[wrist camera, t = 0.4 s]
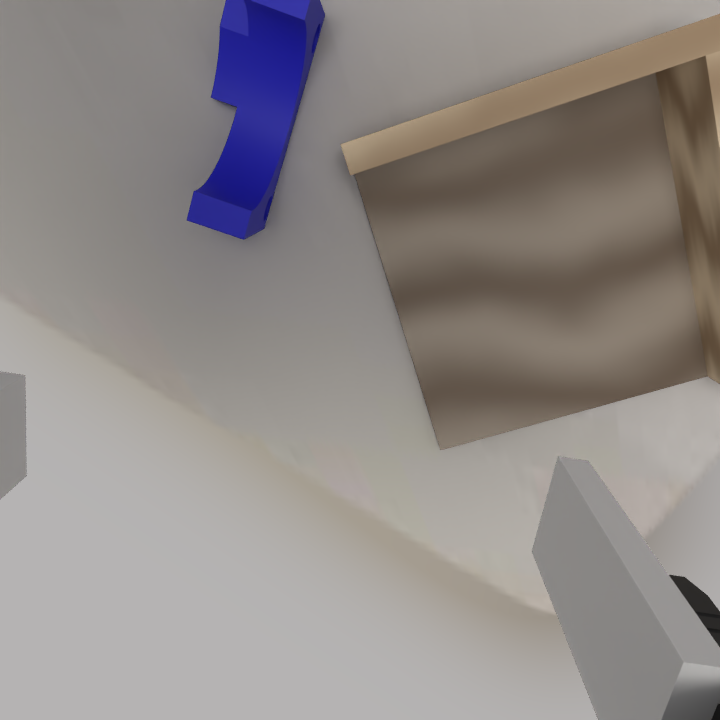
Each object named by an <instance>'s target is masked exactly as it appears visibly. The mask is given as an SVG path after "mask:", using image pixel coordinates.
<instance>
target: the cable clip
mask: <svg viewBox="0 0 720 720" xmlns="http://www.w3.org/2000/svg"><path fill="white" fill-rule="evenodd" d="M324 17H325V13H324V10H323V7H322V5H321V2H320V0H226V3H225V7H224V11H223V15H222V19H221V23H220V40H219V54H218V62H217V69H216V75H215V81H214V86H213V90H212V95H211V98H213V99H216V100H219V101H221V102H224V103H227V104H230V105H233V106H236V107H237V110H236V114H235V117H234V121H233V124H232V127H231V130H230V133H229V136H228V139H227V142H226V145H225V147H224V150H223V152H222V154H221V157H220V159H219V161H218V163H217V165H216V167H215V169H214V171H213V172H212V174H211V176H210V177H209V179H208V180H207V181H206V183H205V184H204V185H203V186H202V187H201V188H199V189H198V190H196V191H194V193H193V197H192V201H191V205H190V209H189V213H188V217H187V221H190V222H193V223H196V224H199V225H202V226H205V227H208V228H211V229H214V230H217V231H220V232H223V233H226V234H229V235H231V236H234V237H237V238H240V239H243V240H244V239H246V238H248V237H250V236H251V235H253V234H255V233H257V232H259V231H261V230H263V229H264V227H265V224H266V220H267V217H268V213H269V210H270V206H271V203H272V199H273V196H274V192H275V189H276V185H277V182H278V178H279V175H280V171H281V168H282V164H283V161H284V157H285V154H286V150H287V147H288V143H289V140H290V136H291V133H292V129H293V126H294V122H295V119H296V115H297V112H298V108H299V105H300V101H301V98H302V94H303V91H304V87H305V84H306V80H307V77H308V73H309V70H310V66H311V63H312V59H313V56H314V52H315V49H316V45H317V42H318V38H319V35H320V31H321V28H322V24H323V21H324Z"/></svg>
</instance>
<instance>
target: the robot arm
mask: <svg viewBox="0 0 720 720" xmlns="http://www.w3.org/2000/svg"><path fill="white" fill-rule="evenodd" d="M25 397H26V395H25V375H21V374H13V373H7V372H0V499H1V498H2V497H3V496H5V495H6V494H7V493H8V492H9V491H10V490H11V489H12V488H14V487H15V486H16V485H17V484H18V483H19V482H20V481H21V480H23V479H24V478H25V477H26V476H27V475H26V399H25ZM532 553H533V556H534V558H535V561H536V563H537V566H538V568H539V571H540V573H541V576H542V579H543V581H544V584H545V586H546V589H547V591H548V594H549V596H550V599H551V601H552V604H553V606H554V609H555V612H556V614H557V617H558V619H559V622H560V624H561V627H562V629H563V632H564V634H565V637H566V639H567V642H568V644H569V647H570V649H571V652H572V655H573V657H574V659H575V662H576V665H577V667H578V670H579V672H580V675H581V677H582V680H583V683H584V685H585V688H586V690H587V693H588V695H589V698H590V700H591V703H592V705H593V708H594V711H595V713H596V715H597V718H598V720H720V611H719V610H718V608H717V607H716V606H715V605H714V603H713V602H712V601H711V599H710V598H709V597H708V595H706V594H705V593H704V592H702V591H701V590H700V589H699V588H698V587H696V586H695V585H694V584H693V583H691V582H690V581H689V580H688V579H686V578H685V577H680V576H673V575H668V573H667V572H666V570H665V569H664V568H663V566H662V565H661V563H660V562H659V560H658V559H657V558H656V556H655V555H654V553H653V552H652V551H651V549H650V548H649V546H648V545H647V543H646V542H645V540H644V539H643V538H642V536H641V535H640V533H639V532H638V530H637V529H636V528H635V526H634V525H633V523H632V522H631V521H630V519H629V518H628V516H627V515H626V513H625V512H624V511H623V509H622V508H621V506H620V505H619V503H618V502H617V501H616V499H615V498H614V496H613V495H612V494H611V492H610V491H609V489H608V488H607V486H606V485H605V484H604V482H603V481H602V479H601V478H600V476H599V475H598V474H597V472H596V471H595V469H594V468H593V466H592V465H591V464H590V462H589V461H586V460H580V459H573V458H567V457H560V456H558V458H557V462H556V465H555V469H554V472H553V476H552V480H551V483H550V487H549V491H548V494H547V498H546V501H545V505H544V509H543V512H542V516H541V519H540V523H539V527H538V530H537V534H536V538H535V541H534V545H533V548H532Z"/></svg>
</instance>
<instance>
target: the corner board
mask: <svg viewBox="0 0 720 720" xmlns="http://www.w3.org/2000/svg"><path fill="white" fill-rule="evenodd" d="M341 148H342V151H343V154H344V157H345V160H346V163H347V167H348V170H349V173H350V175H353V174H355V177H356V180H357V184H358V187H359V190H360V193H361V197H362V200H363V203H364V206H365V209H366V213H367V216H368V219H369V222H370V225H371V229H372V232H373V235H374V238H375V241H376V245H377V248H378V251H379V254H380V257H381V261H382V264H383V267H384V270H385V274H386V277H387V280H388V283H389V286H390V290H391V293H392V296H393V299H394V302H395V306H396V309H397V312H398V315H399V318H400V322H401V325H402V328H403V331H404V334H405V338H406V341H407V344H408V347H409V351H410V354H411V357H412V360H413V363H414V367H415V370H416V373H417V376H418V379H419V383H420V386H421V389H422V392H423V395H424V399H425V402H426V405H427V408H428V411H429V415H430V418H431V421H432V424H433V428H434V431H435V434H436V437H437V440H438V444H439V447H440V450H443V449H447V448H451V447H454V446H458V445H461V444H465V443H469V442H472V441H476V440H479V439H483V438H487V437H490V436H494V435H497V434H501V433H505V432H508V431H512V430H515V429H519V428H523V427H526V426H530V425H534V424H537V423H541V422H544V421H548V420H552V419H555V418H559V417H562V416H566V415H570V414H573V413H577V412H580V411H584V410H588V409H591V408H595V407H598V406H602V405H606V404H609V403H613V402H616V401H620V400H624V399H627V398H631V397H635V396H638V395H642V394H645V393H649V392H653V391H656V390H660V389H663V388H667V387H671V386H674V385H678V384H681V383H685V382H689V381H692V380H696V379H699V378H703V377H707V376H708V377H710V378H711V379H713V380H714V381H716V382H718V383H719V384H720V14H718V15H715V16H712V17H709V18H707V19H704V20H701V21H698V22H695V23H692V24H689V25H686V26H683V27H680V28H677V29H675V30H672V31H669V32H666V33H663V34H660V35H657V36H654V37H651V38H648V39H645V40H643V41H640V42H637V43H634V44H631V45H628V46H625V47H622V48H619V49H616V50H613V51H611V52H608V53H605V54H602V55H599V56H596V57H593V58H590V59H587V60H584V61H581V62H579V63H576V64H573V65H570V66H567V67H564V68H561V69H558V70H555V71H552V72H549V73H547V74H544V75H541V76H538V77H535V78H532V79H529V80H526V81H523V82H520V83H518V84H515V85H512V86H509V87H506V88H503V89H500V90H497V91H494V92H491V93H488V94H486V95H483V96H480V97H477V98H474V99H471V100H468V101H465V102H462V103H459V104H456V105H454V106H451V107H448V108H445V109H442V110H439V111H436V112H433V113H430V114H427V115H424V116H422V117H419V118H416V119H413V120H410V121H407V122H404V123H401V124H398V125H395V126H392V127H390V128H387V129H384V130H381V131H378V132H375V133H372V134H369V135H366V136H363V137H360V138H358V139H355V140H352V141H349V142H346V143H343V144H341Z"/></svg>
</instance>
